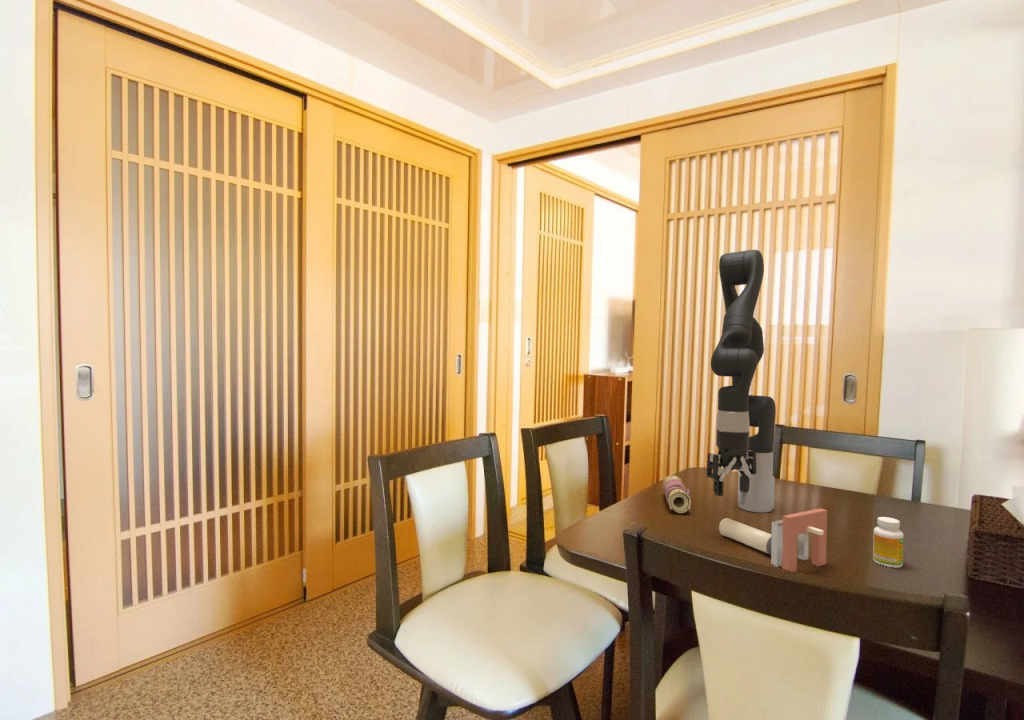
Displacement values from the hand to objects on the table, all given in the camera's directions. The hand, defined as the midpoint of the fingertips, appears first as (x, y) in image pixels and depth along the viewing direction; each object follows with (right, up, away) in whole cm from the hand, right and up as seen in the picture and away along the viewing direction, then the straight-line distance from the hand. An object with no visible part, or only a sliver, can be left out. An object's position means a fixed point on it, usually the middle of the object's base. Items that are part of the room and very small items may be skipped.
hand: (731, 493), depth 130 cm
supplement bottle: (+28, -12, -15) cm, 34 cm away
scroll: (-5, -11, +28) cm, 30 cm away
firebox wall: (+9, -12, -19) cm, 24 cm away
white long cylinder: (+3, -11, -5) cm, 13 cm away
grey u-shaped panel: (+7, -12, -14) cm, 20 cm away
